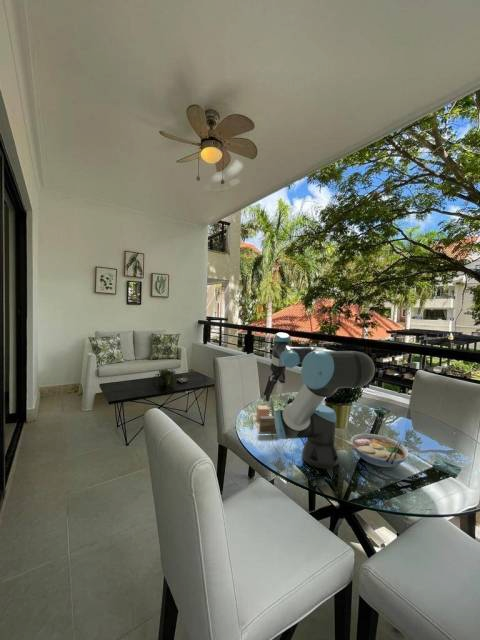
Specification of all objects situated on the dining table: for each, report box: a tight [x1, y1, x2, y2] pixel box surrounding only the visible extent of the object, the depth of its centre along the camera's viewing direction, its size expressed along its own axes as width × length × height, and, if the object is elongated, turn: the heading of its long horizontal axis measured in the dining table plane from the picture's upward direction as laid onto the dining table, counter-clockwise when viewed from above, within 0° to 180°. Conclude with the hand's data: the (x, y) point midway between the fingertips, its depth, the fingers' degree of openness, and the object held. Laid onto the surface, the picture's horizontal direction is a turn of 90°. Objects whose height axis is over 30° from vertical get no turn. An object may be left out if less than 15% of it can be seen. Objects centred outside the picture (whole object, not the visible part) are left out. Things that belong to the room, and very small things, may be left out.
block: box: [256, 405, 270, 420], centre depth 168 cm, size 6×6×6 cm
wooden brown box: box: [250, 412, 277, 433], centre depth 163 cm, size 24×12×8 cm, turn 8°
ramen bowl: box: [350, 433, 410, 468], centre depth 126 cm, size 25×23×8 cm
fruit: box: [285, 397, 295, 405], centre depth 180 cm, size 9×8×15 cm
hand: (273, 399), depth 152 cm, fingers open, 13 cm apart
